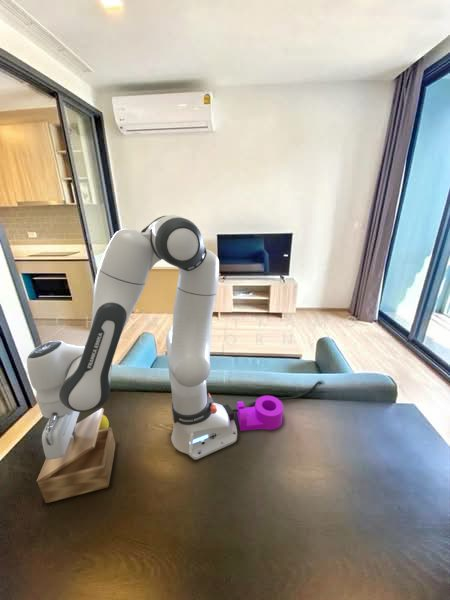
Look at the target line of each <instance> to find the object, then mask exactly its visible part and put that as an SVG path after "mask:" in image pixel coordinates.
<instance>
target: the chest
mask: <svg viewBox="0 0 450 600" xmlns="http://www.w3.org/2000/svg"><path fill="white" fill-rule="evenodd" d="M115 451H116V442H115V437H114V433H113V428H112V427H108V428H107V429H102V430H99V432H98V436H97V440H96V444H95V448H93V449H92V450H90V451H88V452H87V453H85V454H84V455H82V456H80V457H79V458H77V459H76V460H74V461H73V462H71V463H69V464H68V465H66V466H65V467H63V468H61V469H60V470H58V471H57V472H55V473H54V474H52V475H50V476H49V477H47V478H46V479H44V480H42V481H41V482H39V483H38V482H37V485H38V488H39V490H40V492H41V495H42V497H43V500H44V503H45V504H48V503H52V502H56V501H60V500H64V499H67V498H72V497H75V496H79V495H83V494H86V493H90V492H91V493H92V492H94V491H99V490H103V489H106V488H109V487H110V481H111V475H112V469H113V463H114V457H115Z"/></svg>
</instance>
